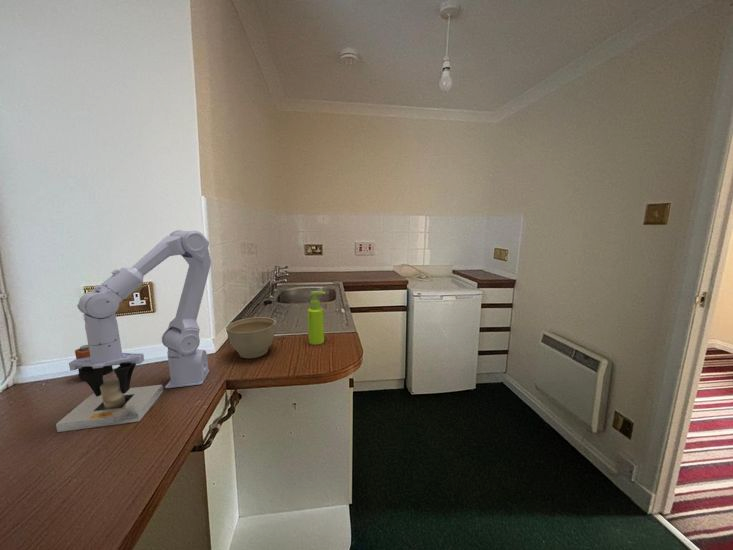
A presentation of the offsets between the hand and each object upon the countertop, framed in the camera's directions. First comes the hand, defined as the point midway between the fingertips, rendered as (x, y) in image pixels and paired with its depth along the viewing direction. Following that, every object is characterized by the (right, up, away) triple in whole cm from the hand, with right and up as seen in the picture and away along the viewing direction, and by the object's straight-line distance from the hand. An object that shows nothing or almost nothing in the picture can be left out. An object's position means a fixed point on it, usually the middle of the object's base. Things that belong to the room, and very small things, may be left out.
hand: (113, 392), depth 74 cm
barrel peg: (0, -4, +1) cm, 4 cm away
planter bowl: (+22, +1, +33) cm, 40 cm away
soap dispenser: (+44, +3, +42) cm, 61 cm away
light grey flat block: (0, -5, +1) cm, 5 cm away
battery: (-20, -2, +18) cm, 27 cm away
